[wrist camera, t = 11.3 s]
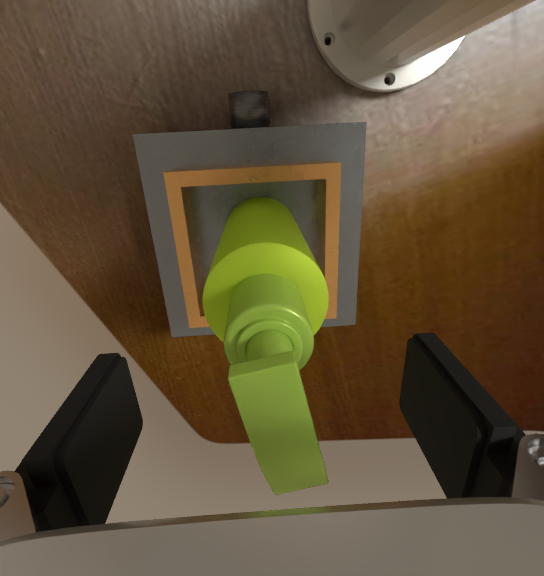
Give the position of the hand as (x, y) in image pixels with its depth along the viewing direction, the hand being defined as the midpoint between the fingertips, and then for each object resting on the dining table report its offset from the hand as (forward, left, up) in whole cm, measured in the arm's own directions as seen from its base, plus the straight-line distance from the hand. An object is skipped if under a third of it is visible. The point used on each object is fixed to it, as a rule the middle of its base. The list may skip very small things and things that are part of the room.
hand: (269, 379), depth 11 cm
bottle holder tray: (-1, 0, -22) cm, 22 cm away
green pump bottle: (0, 0, -18) cm, 18 cm away
